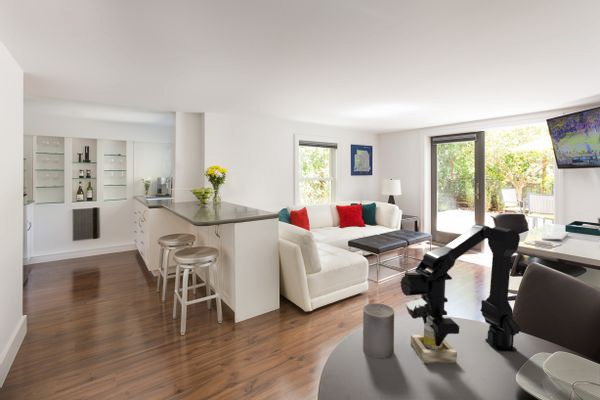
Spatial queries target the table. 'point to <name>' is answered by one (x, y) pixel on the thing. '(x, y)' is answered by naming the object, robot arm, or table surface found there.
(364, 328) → the pillar candle
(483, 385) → the table surface
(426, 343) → the supplement bottle
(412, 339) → the square holder
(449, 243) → the robot arm
